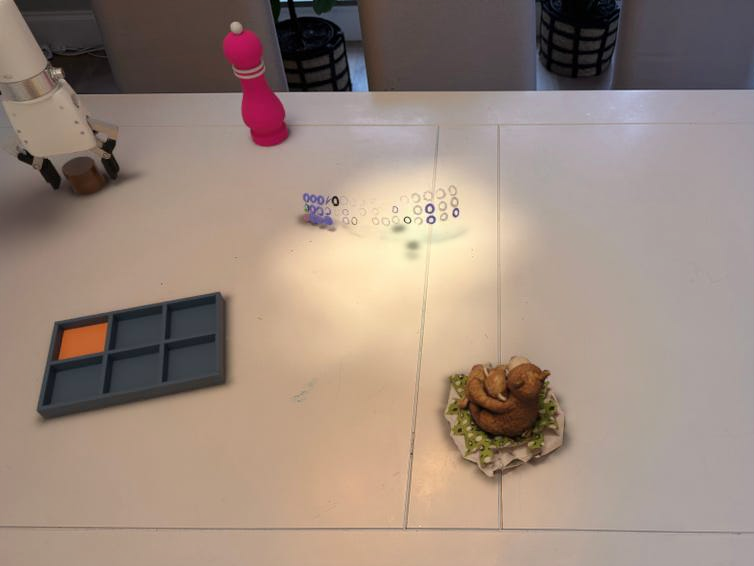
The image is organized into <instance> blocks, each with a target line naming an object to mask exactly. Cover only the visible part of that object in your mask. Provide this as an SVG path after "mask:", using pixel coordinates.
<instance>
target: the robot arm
mask: <svg viewBox="0 0 754 566" xmlns="http://www.w3.org/2000/svg"><path fill="white" fill-rule="evenodd" d="M64 78H66V72H65V70H64V68H63V67H54V66H53V65H52V64H51V62H50V61H49V60H48V59H47V57H46V56H45V54H44V52H43V50H42V49H41V47H40V45H39V43H38V41H37V40H36V38H35V36H34V35H33V33H32V31H31V29H30V27H29V25H28V24H27V22H26V21H25V19H24V17H23V14H22V13H21V11H20V9H19V7H18V6H17V4H16V3H15V1H14V0H0V93H1V94H0V95H1V96H0V100H1V102H2V105H3V108H4V111H5V113H6V115H7V118H8V120H9V122H10V124H11V126H12V127H13V130H14V133H12V135H11V136H10V137H8V138H7V140H5V142H4V143H3V146H2V149H3V150H4V151H5V152H6V153H7V154H10V155H11V156H13V157H15V158H17V160H18V161H20V162H22V163H25V164H27V165H29V166H32V169H33V170H35V171H39V173H40V174H41V176H42V177H43V179H44V181H45V182H46V183H47V184H49V185H50V187H51V188H52V189H53V190H54V191H57V190H59V189H60V188H61V184H62V183H61V182H62V176H61V175H60V173H59V172H58V170H57V169H56V167H55V166H54V164H53V163H52V161H51V159H49V158H48V157H53V156H61V155H66V154H73V153H79V152H86V151H90V152H92V153H94V154H96V155H97V156H99V157H101V158H100V162H101V164H102V166H103V168H104V169H105V171H106V173H107V175H108V177H109V179H110V180H111V181H117V179H118V174H119V172H120V169H121V168H120V164H119V163H118V161H117V159H116V158H115V155H114V154H113V151H114V150H115V149H116V146H117V142H118V140H117V139H118V136H119V130H120V127H119V126H118V125H116V124H113V123H111V122H106V121H103V120H100V119H97V118H93V116H92V114H91V113H90V111H89V110H88V108H87V107H86V105H85V104H84V102H83V101H82V99H81V98H80V97H79V95H78V94H77V92H76V91H75V90H74V89H73V87H72V86H71V85H70V84H69V83H68V82H67V81H66V79H64ZM99 133H102V134H106V135H107V139H106V140H105V139H103V138H101V137H99V136H98V134H99ZM21 144H22V145H23V146H24V148H22V147H20V145H21Z"/></svg>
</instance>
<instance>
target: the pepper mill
mask: <svg viewBox="0 0 754 566" xmlns="http://www.w3.org/2000/svg"><path fill="white" fill-rule="evenodd" d="M229 28H230V32H229V33H228V34H226V36H225V37H224V39H223V42H222V50H223V55H224V56H225V58H226V60H227V61H228V62H229V63H230V64H231V68H232V70H233V74H234V75H235V76H236V77H237V78H238V80H239V81H240V85H241V88H242V98H241V107H240V112H241V117H242V118H241V119H242V121H243V123H244V125H245V127H247V128H249V133H250V136H251V139H252V141H253V143H254V144H255V145H257V146H260V147H273V146H277V145H280V144H281V143H283V142H284V141H286V140H287V138H288V136H289V130H288V127H287V124H286V122H285V119H286V109H285V106H284V104H283V102H282V101H281V99H280V98H279V97H278V95H277V94H275V92H274V91H273V89H272V88H271V87H270V86H269V84H268V82H267V79H266V77H265V72H266V65H265V60H264V59H263V58H262V57H263V54H264V48H263V43H262V41H261V39H260V38H259V37H258V35H256V34H255V33H254V32H252V31H250V30H248V29H244V28H243V25H242V24H241V23H240V22H239V21H233V22H231V23H230V27H229Z"/></svg>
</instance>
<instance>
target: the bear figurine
mask: <svg viewBox="0 0 754 566" xmlns="http://www.w3.org/2000/svg"><path fill="white" fill-rule="evenodd" d="M550 376H551V371H550V370H549V369H544V370H542V369H541V368H540V367H539V366H538V365H536V364H534V363H532V362H531V361H530V360H529V358H528V357H526V356H522V355H515V356H511V358H510V359H509V362H507V363H506V364H499V365H498V364H497V365H495V366H494V367H493V364H492V363H491V362H487V361H486V362H485V363H484V364H483V363H477V364H474V365H473V366H472V368H471V370H470V372H468V373H460V374H458V373H455V374H451V375H449V377H448V380H449V382H450V384H451V386H450V391H449V396H448V400H447V404H446V408H445V410H444V412H443V413H444V414H443V415H444V418H445V422H446V425H447V429H448V434H449V437H451V439H452V440H453V442H454V444H455V445H456V447H457V449H458V451H459V452H460V454H461V456H462V458H464V459H465V460H468V461H470V462H474V463H477V466H478V468H479V470H481V471H482V472H483V473H484V474H485V475H486V476H487V477H489V478H492V477H493V478H494V476H495V475H494V471H496V470H499V471H504V470H507V469H511V468H513V467H517V466H520V465H523V464H524V463H527V462H528V461H529V460H532V459H533V458H540V457H542V456H543V457H544V456H545V455H547V454H550V453H551V452H552V451H554V450H556V449H558V448H559V447H561V446H562V445H563V441H564V429H565V428H564V427H565V416H566V415H565V412H564V411H563V409H562V408H561V406H560V405H559V402H558V400H557V397H556V395H555V393H554V391H553V389H552V388H551V387H549V385H550V381H546V379H548V377H550ZM449 424H450V425H449ZM516 459H518V460H519V461H522V462H523V463H518V464H513V465H509V466H507V465H508V464H510V463H511V462H512V461H513V460H516Z"/></svg>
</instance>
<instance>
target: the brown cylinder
mask: <svg viewBox="0 0 754 566" xmlns="http://www.w3.org/2000/svg"><path fill="white" fill-rule="evenodd" d="M61 172H62V174H63V175H64V178H65V179H66V180H67V182H68V183H69V185H70V186H71V188H72V190H73V192H74V193H75V194H76V195H79V196H88V195H93V194H95V193H97V192H99V191H101V190H102V189H103V188H104V187H105V185H106V179H105V178H104V176H103V174H102V172H101V170H100V168H99V167H98V165H97V163H96V161H95V160H94V158H93V157H91V156H77V157H74V158H71V159H69V160H68V161H66V162H65V163H64V164H62V167H61Z"/></svg>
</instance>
